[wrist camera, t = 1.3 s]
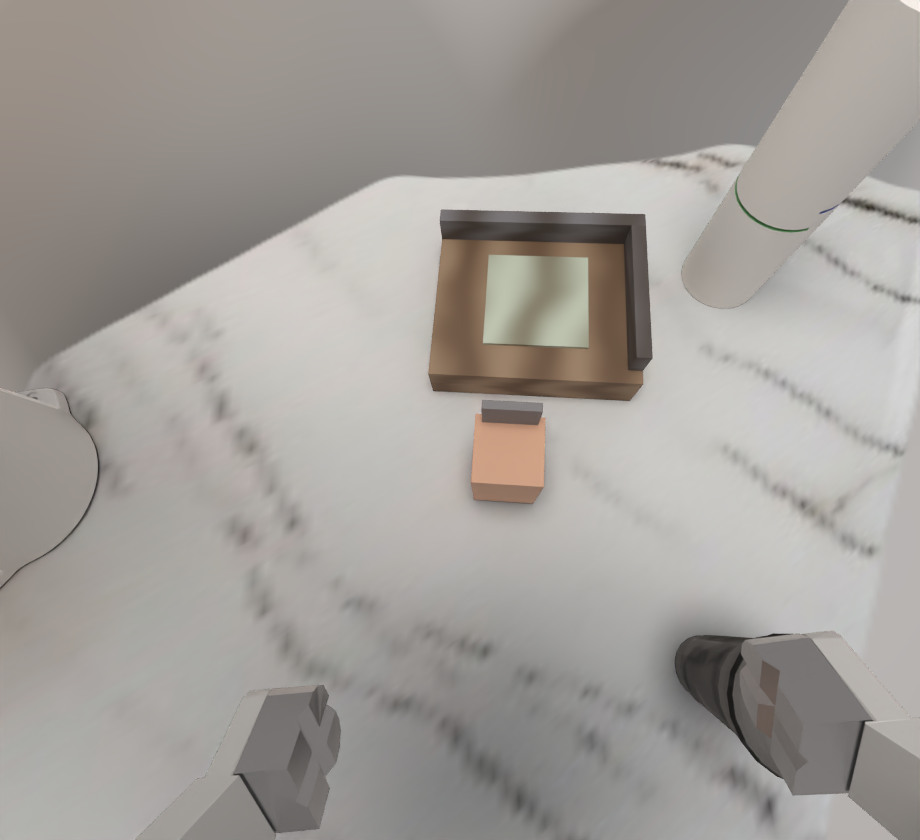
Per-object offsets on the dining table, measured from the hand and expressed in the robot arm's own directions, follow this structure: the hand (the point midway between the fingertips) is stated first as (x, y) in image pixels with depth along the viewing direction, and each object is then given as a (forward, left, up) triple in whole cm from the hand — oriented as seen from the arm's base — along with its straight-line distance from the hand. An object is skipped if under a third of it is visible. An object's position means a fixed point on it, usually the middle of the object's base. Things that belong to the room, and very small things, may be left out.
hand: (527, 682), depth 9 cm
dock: (+2, +25, -31) cm, 40 cm away
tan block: (0, +10, -31) cm, 33 cm away
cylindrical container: (+20, +31, -31) cm, 49 cm away
